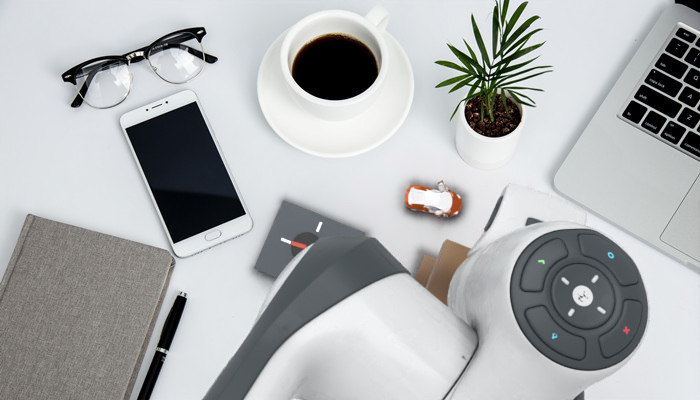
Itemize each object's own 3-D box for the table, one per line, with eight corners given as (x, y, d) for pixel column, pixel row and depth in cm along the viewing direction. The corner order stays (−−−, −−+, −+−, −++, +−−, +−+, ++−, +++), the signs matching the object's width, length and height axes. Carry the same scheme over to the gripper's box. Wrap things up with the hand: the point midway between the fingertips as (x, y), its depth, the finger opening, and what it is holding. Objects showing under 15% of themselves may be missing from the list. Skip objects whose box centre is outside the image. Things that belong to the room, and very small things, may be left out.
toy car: (458, 225, 85) (461, 221, 82) (401, 213, 86) (402, 210, 82) (464, 189, 86) (468, 184, 83) (408, 178, 86) (409, 172, 83)
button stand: (471, 363, 81) (511, 382, 58) (394, 330, 83) (403, 337, 59) (499, 285, 83) (549, 274, 60) (423, 255, 84) (443, 232, 61)
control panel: (337, 303, 84) (336, 302, 80) (257, 269, 85) (253, 268, 82) (365, 235, 85) (365, 232, 82) (286, 203, 86) (283, 199, 83)
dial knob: (327, 240, 82) (325, 236, 78) (319, 268, 81) (316, 266, 78) (299, 232, 82) (296, 228, 79) (290, 260, 82) (286, 257, 78)
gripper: (502, 458, 43) (471, 424, 57) (595, 193, 46) (544, 220, 60) (418, 422, 44) (407, 396, 57) (515, 163, 47) (483, 197, 60)
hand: (478, 305), depth 59 cm, fingers closed, pressing on start button
